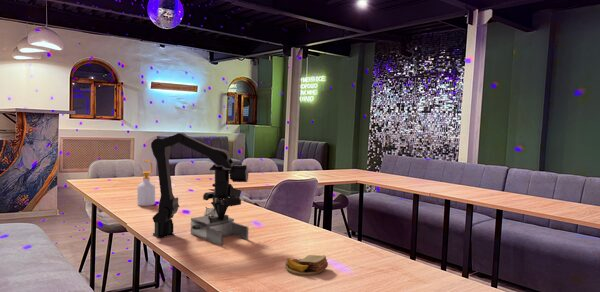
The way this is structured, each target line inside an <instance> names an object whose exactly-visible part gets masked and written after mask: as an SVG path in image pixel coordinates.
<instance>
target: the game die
mask: <svg viewBox="0 0 600 292" xmlns="http://www.w3.org/2000/svg"><path fill="white" fill-rule="evenodd" d="M214 214H217V213H216V211H215V209H214V207H207V206H205V210H204V214H203V216H208V215H214Z"/></svg>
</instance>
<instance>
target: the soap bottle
mask: <svg viewBox="0 0 600 292" xmlns="http://www.w3.org/2000/svg"><path fill="white" fill-rule="evenodd" d="M142 161H143V162H145V163H149V164H150V171H141V174H143V175H144V177H142V178H143V179H142V182H140V183H139V184H138V185H137V187H136V188H137V190H136V193H137V198H136V199H137V205H138V206H140V207H149V206H154V205H155V204H156V185H155V184H154V183H153V182H151V181H150V180H151V179H150V178H151V177H149V175H150V174H152V173H153V163H152V162H151V161H149V160H147V159H142Z"/></svg>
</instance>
